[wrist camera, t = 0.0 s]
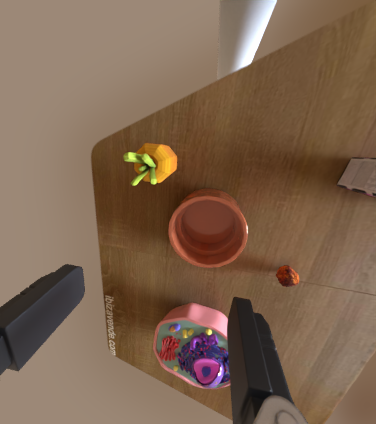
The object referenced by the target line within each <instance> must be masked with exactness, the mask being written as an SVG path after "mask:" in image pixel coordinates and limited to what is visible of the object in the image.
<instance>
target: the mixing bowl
mask: <svg viewBox="0 0 376 424" xmlns="http://www.w3.org/2000/svg"><path fill="white" fill-rule="evenodd" d="M168 234H169V238H170V242H171V245H172V246H173V248H174V250H175V251H176V253H177V254H178V255H179V256H180V257H182V258H183V259H184V260H185V261H187V262H189V263H191V264H193V265H195V266H199V267H205V268H212V267H220V266H222V265H225V264H228V263H230V262H231V261H233V260H234V259H235V258H236V257H238V256H239V255H240V253H241V252H242V250H243V249H244V247H245V245H246V241H247V237H248V231H247V223H246V221H245V219H244V216H243V214H242V212H241V210H240V208H239V206H238V204H237V202H236V201H235V200H234V199H233V198H232V197H231V196H230V195H229V194H227V193H225V192H223V191H221V190H218V189H211V188H205V189H199V190H196V191H194V192H192V193H190V194H188V195H187V196H186V197H185V198H184V199H183V200H182V201H181V202H180V204H179V205H178V207H177V208H176V210H175V211H174V213H173V215H172V217H171V220H170V222H169V231H168Z"/></svg>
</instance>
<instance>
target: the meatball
mask: <svg viewBox="0 0 376 424" xmlns="http://www.w3.org/2000/svg"><path fill="white" fill-rule="evenodd" d="M276 276H277V278H278V280H279V283H281V285H282V286H286V287H289V286H295V285H297V284H298V283H299V276H298V274H297V273H296V272H295V271H294V270H292V268H291V267H289V266H285V265H284V266H282V267H280V268H279V270H278V271H277V274H276Z"/></svg>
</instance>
